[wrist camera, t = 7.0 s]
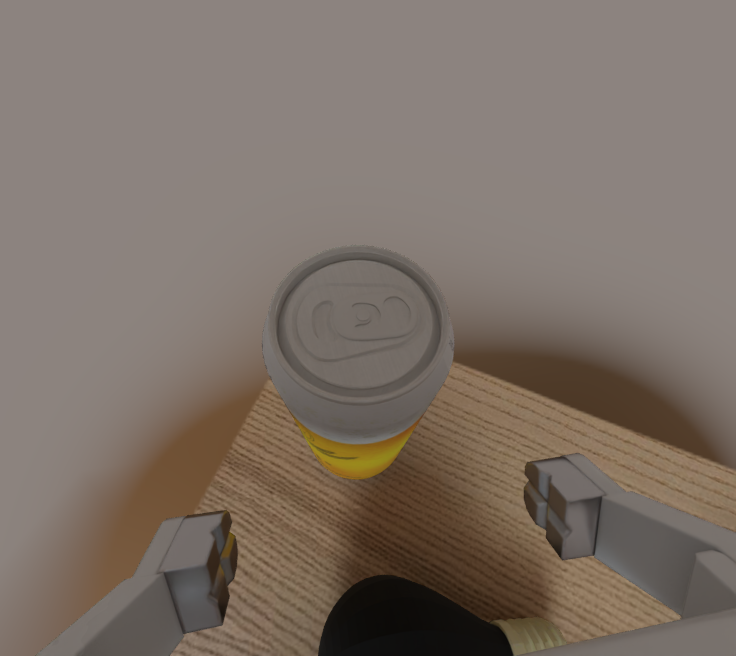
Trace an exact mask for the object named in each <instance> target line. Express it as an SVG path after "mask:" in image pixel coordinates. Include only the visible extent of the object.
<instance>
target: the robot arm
mask: <svg viewBox="0 0 736 656" xmlns="http://www.w3.org/2000/svg"><path fill="white" fill-rule="evenodd" d="M525 476H526V477H527V478H528V479H529V481H528V483H527V484H526V485H525V487H524V501H525V505H526V508H527V511H528V513H529V515H530V517H531V518H532V519H533V521H534V522H535V524H536V525H538V526H540V527H542V528H543V529H545V530H546V539H547V540H548V542H549V543H550V544H551V546H552V547H553V549H554V550H555V551H556V553H557V554H558V555H559V557H560V558H561V559H562V560H568V559H575V558H581V557H587V556H594V555H595V556H594V557H595V558H596V559H598V560H599V561H601V562H602V563H604V564H605V565H607V566H608V567H610V568H611V569H612V570H614V571H615V572H617V573H618V574H620V575H621V576H623V577H624V578H626V579H627V580H629V581H630V582H632V583H633V584H635V585H636V586H638V587H639V588H641V589H642V590H644V591H645V592H647V593H648V594H650V595H651V596H653V597H654V598H656V599H657V600H659V601H660V602H662V603H663V604H665V605H666V606H668V607H669V608H670V609H672V610H673V611H675V612H676V613H678V614H679V615H681V619H680V620H676V621H672V622H667V623H663V624H658V625H653V626H649V627H644V628H639V629H635V630H630V631H626V632H621V633H616V634H612V635H607V636H603V637H598V638H593V639H589V640H584V641H580V642H575V643H571V644H566V645H561V646H557V647H552V648H548V649H543V650H539V651H534V652H529V653H525V654H520V655H516V656H736V533H735V532H733V531H730V530H728V529H725V528H723V527H720V526H718V525H715V524H713V523H710V522H708V521H705V520H703V519H700V518H698V517H695V516H693V515H690V514H688V513H685V512H683V511H680V510H678V509H675V508H673V507H670V506H668V505H665V504H663V503H660V502H658V501H655V500H653V499H650V498H647V497H645V496H642V495H640V494H637V493H635V492H632V491H631V492H626V491H625V490H623V489H622V488H621V487H620V486H619V485H618V484H616V483H615V482H614V481H613V480H612V479H611V478H609V477H608V476H607V475H606V474H605V473H604V472H602V471H601V470H600V469H599V468H598V467H597V466H596V465H594V464H593V463H592V462H591V461H590V460H589V459H587V458H586V457H585V456H584V455H582V454H580V453H575V454H569V455H564V456H561V457H554V458H548V459H542V460H536V461H530V462H527V464H526V466H525ZM231 524H232V520H231V517H230V513H229V512H228V511H227V510H224V511H216V512H209V513H202V514H194V515H187V516H183V517H175V518H168V519H166V520H165V521H163V522H162V523H161V525H160V527H159V529H158V530H157V532H156V534H155V536H154V538H153V539H152V541H151V543H150V545H149V547H148V549H147V551H146V552H145V554H144V556H143V558H142V560H141V562H140V563H139V566H138V567H137V569H136V571H135V573H134V575H133V577H132V578H131V579H125V580H124V581H122V582H121V583H120V584H119V585H118V586H117V587H115V588H114V589H113V590H112V591H111V592H110V593H109V594H107V595H106V596H105V597H104V598H102V599H101V600H100V601H99V602H98V603H97V604H95V605H94V606H93V607H92V608H91V609H89V610H88V611H87V612H86V613H85V614H84V615H83V616H81V617H80V618H79V619H78V620H77V621H76V622H74V623H73V624H72V625H71V626H69V627H68V628H67V629H66V630H65V631H64V632H62V633H61V634H60V635H59V636H58V637H57V638H55V639H54V640H53V641H52V642H51V643H49V644H48V645H47V646H46V647H45V648H44V649H42V650H41V651H40V652H39V653H38V654H37V655H35V656H170V654H171V653H172V652H173V650H174V649H175V648H176V646H177V645H178V644H179V642H180V641H181V640H182V638H183V637H184V635H183V634H186V633H191V632H195V631H200V630H204V629H209V628H213V627H217V626H222V625H223V621H224V617H225V613H226V609H227V605H228V601H229V597H230V595H229V591H228V587H227V586H228V585H229V584H230V582H231V581H232V580H233V579H234V577H235V573H236V568H237V558H238V549H237V541H236V537H235V535H233V534H232V533H231V532H229V531H230V528H231Z"/></svg>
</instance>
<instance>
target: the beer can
mask: <svg viewBox="0 0 736 656" xmlns="http://www.w3.org/2000/svg"><path fill="white" fill-rule="evenodd" d="M262 351H263V358H264V363H265V366H266V369H267V371H268V374H269V376H270V378H271V380H272V382H273V384H274V386H275V387H276V389H277V391H278V393H279V394H280V396H281V398H282V399H283V401H284V403H285V405H286V406H287V408H288V410H289V411H290V413H291V415H292V417H293V418H294V420H295V422H296V424H297V425H298V427H299V429H300V430H301V432H302V434H303V436H304V437H305V439H306V441H307V442H308V444H309V446H310V448H311V449H312V451H313V453H314V455H315V456H316V458H317V459H318V461H319V462H320V463H321V464H322V465H323V466H324V467H325V468H326V469H327V470H329V471H330V472H331V473H333V474H335V475H337V476H340V477H342V478H347V479H354V480H355V479H366V478H370V477H373V476H375V475H377V474H379V473H381V472H382V471H384V470H385V469H387V468H388V467H389V466H390V465H391V464H392V462H393V461H394V460H395V459H396V457H397V455H398V454H399V452H400V451H401V449H402V448H403V446H404V444H405V443H406V441H407V440H408V438H409V437H410V435H411V433H412V432H413V430H414V429H415V427H416V426H417V424H418V423H419V421H420V419H421V418H422V416H423V415H424V413H425V412H426V410H427V408H428V407H429V405H430V404H431V402H432V401H433V399H434V397H435V396H436V394H437V393H438V391H439V390H440V388H441V386H442V385H443V383H444V382H445V380H446V377H447V375H448V373H449V371H450V367H451V364H452V360H453V354H454V333H453V328H452V324H451V320H450V318H449V312H448V307H447V304H446V301H445V298H444V296H443V294H442V292H441V290H440V288H439V287H438V285H437V284H436V282H435V281H434V280H433V278H432V277H431V276H430V275H429V274H428V273H427V272H426V271H425V270H424V269H423V268H422V267H420V266H419V265H418V264H417V263H415V262H414V261H412V260H410V259H409V258H407V257H405V256H403V255H401V254H398V253H396V252H393V251H391V250H387V249H384V248H379V247H374V246H364V245H351V246H342V247H337V248H332V249H329V250H326V251H323V252H320V253H317V254H315V255H313V256H311V257H309V258H308V259H306V260H305V261H303V262H301V263H300V264H299V265H298V266H296V267H295V268H294V269H293V270H292V271H290V272H289V273H288V274H287V276H286V277H285V278H284V279H283V280H282V282H281V283H280V285H279V286H278V288H277V290H276V292H275V294H274V296H273V298H272V301H271V304H270V308H269V312H268V315H267V318H266V321H265V324H264V329H263V336H262Z"/></svg>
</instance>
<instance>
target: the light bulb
mask: <svg viewBox="0 0 736 656" xmlns="http://www.w3.org/2000/svg"><path fill="white" fill-rule="evenodd" d="M566 644H567V642H566V640H565V638H564V637H563V635H562V633H561V632H560V630H559V629H558V628H557V627H556V626H555V625H554V624H553V623H551V622H549V621H547V620H545V619H543V618H540V617H537V616H536V617H534V618H529V617H527V618H524V619H521V618H517V619H515V620H513V619H511V618H510V619H508V620H506V621H505V620H502V619H500V620H493V621H491V622H489V623H488V622H486V621H484V620H482V619H480V618H479V617H477V616H475V615H474V614H472V613H470V612H469V611H467V610H466V609H464V608H462V607H461V606H459V605H458V604H456V603H454V602H453V601H451V600H449V599H448V598H446V597H444V596H443V595H441V594H439V593H437V592H435V591H433V590H431V589H429V588H427V587H425V586H423V585H420V584H418V583H415V582H412V581H410V580H407V579H404V578H401V577H397V576H392V575H378V576H373V577H370V578H366V579H364V580H362V581H360V582H358V583H356V584H355V585H353V586H352V587H351V588H350V589H348V590H347V591H346V592H345V593H344V594H343V595H342V597H341V598H340V599H339V600H338V602H337V603H336V604H335V606H334V607H333V609H332V611H331V612H330V614H329V616H328V618H327V621H326V623H325V626H324V629H323V633H322V637H321V641H320V645H319V652H318V656H516V655H520V654H525V653H529V652H534V651H539V650H543V649H548V648H552V647H557V646H561V645H566Z"/></svg>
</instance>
